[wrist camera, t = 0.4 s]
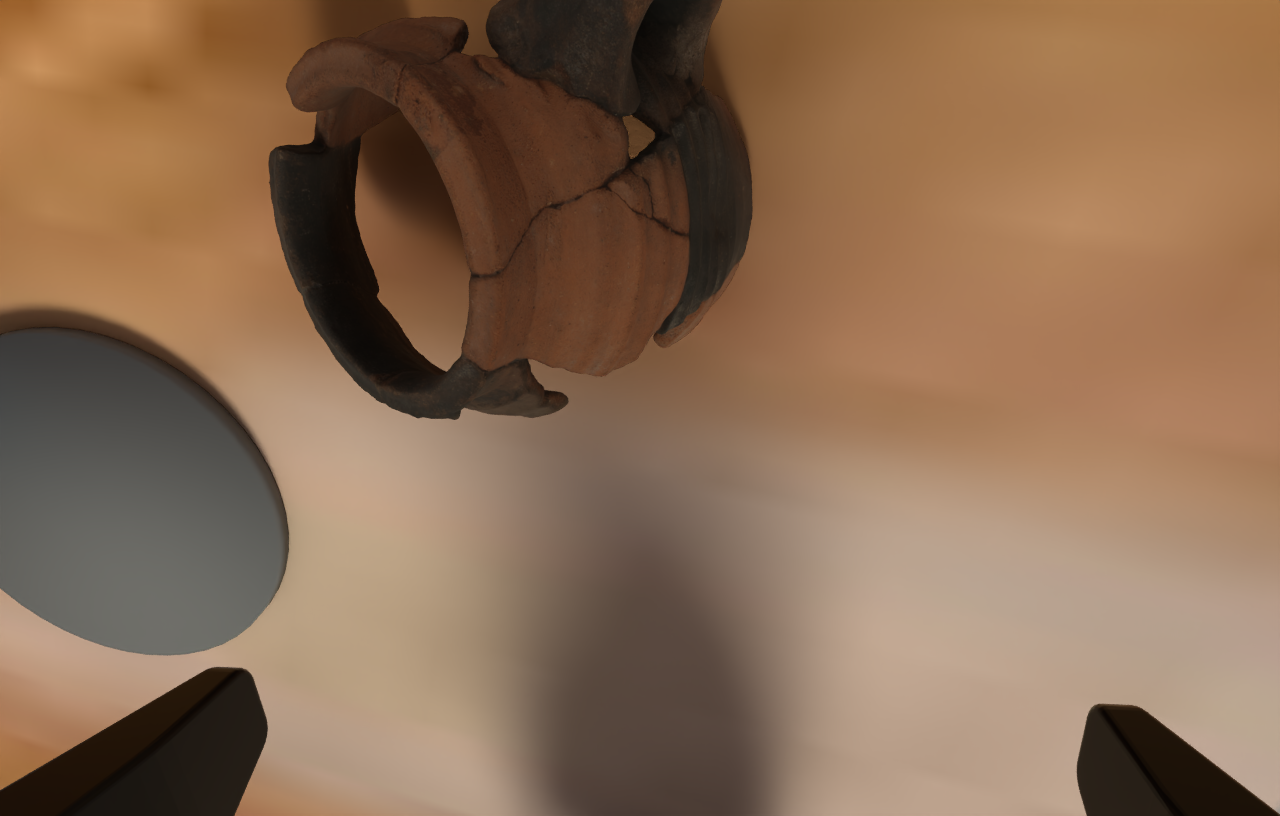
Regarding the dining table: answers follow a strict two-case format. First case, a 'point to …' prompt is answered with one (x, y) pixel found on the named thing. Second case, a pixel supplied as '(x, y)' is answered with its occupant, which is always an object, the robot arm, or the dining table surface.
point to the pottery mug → (523, 193)
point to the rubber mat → (130, 498)
